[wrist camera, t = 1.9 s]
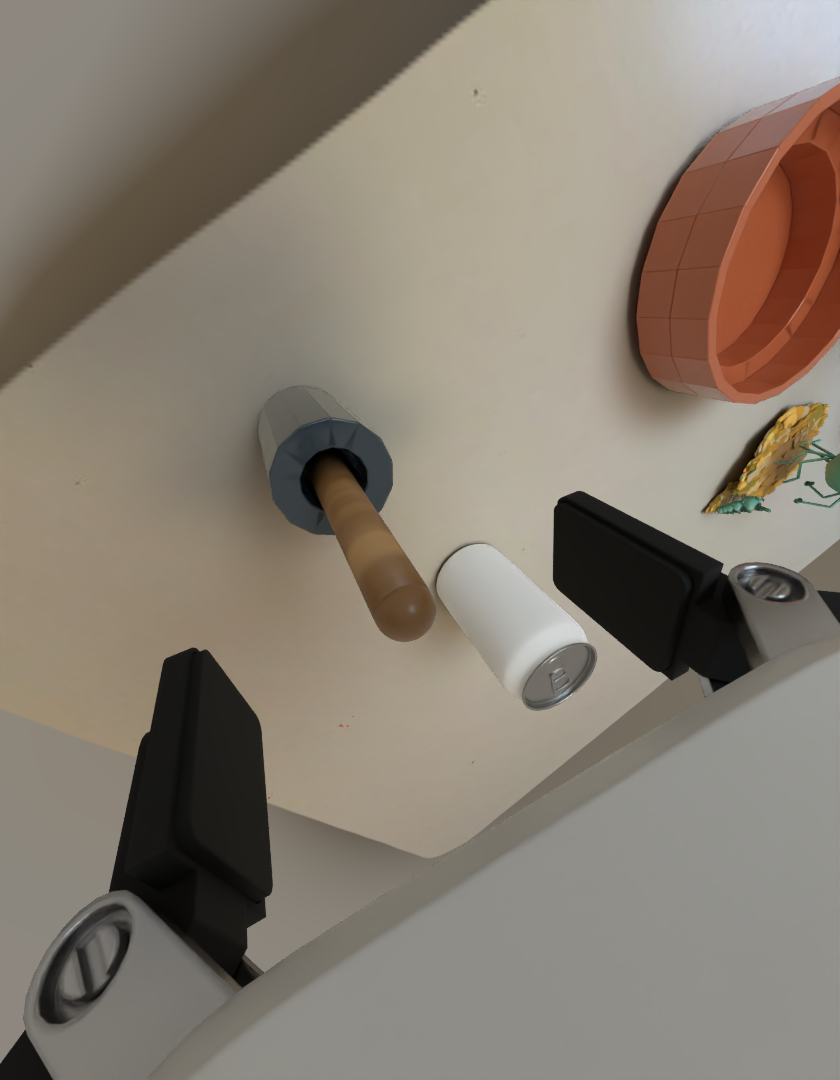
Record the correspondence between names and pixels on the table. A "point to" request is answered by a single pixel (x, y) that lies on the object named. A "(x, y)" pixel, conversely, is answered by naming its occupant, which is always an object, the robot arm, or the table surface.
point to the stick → (372, 552)
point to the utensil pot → (298, 434)
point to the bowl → (749, 256)
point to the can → (515, 627)
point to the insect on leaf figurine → (781, 462)
